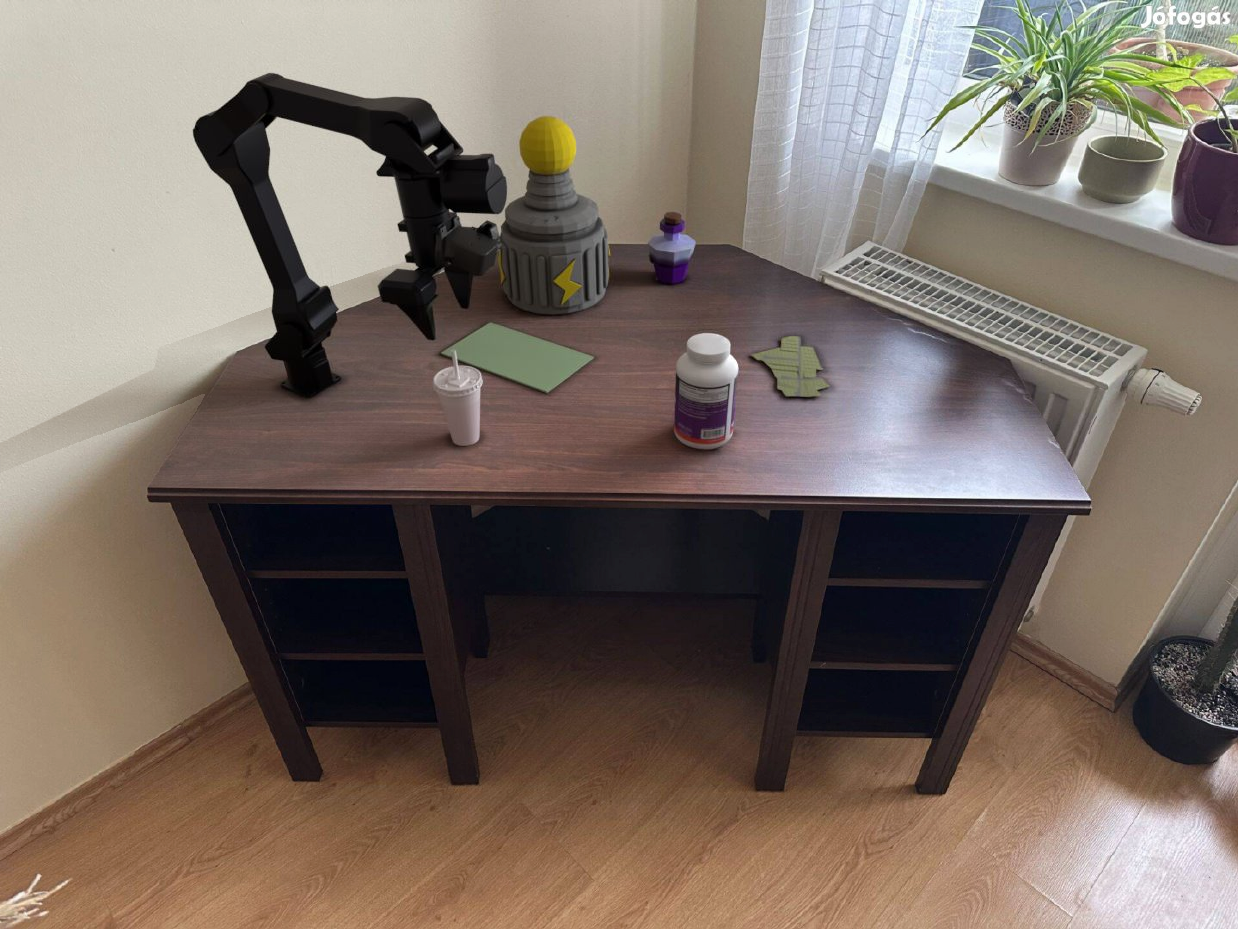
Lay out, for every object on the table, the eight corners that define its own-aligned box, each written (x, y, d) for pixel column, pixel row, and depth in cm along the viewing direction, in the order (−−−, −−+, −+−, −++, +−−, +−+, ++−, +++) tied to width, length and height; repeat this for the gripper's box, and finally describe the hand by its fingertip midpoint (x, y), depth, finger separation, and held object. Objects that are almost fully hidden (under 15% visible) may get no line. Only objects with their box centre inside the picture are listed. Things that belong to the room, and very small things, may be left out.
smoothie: (445, 455, 116) (430, 364, 107) (439, 428, 121) (425, 340, 112) (492, 447, 117) (481, 357, 109) (485, 421, 122) (474, 333, 114)
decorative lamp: (493, 278, 159) (475, 106, 141) (592, 264, 163) (587, 96, 145) (515, 325, 144) (498, 140, 126) (623, 308, 149) (621, 128, 131)
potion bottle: (645, 268, 161) (645, 205, 154) (691, 267, 162) (694, 204, 154) (649, 289, 155) (650, 224, 147) (697, 287, 155) (700, 222, 148)
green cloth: (441, 354, 137) (440, 352, 137) (490, 323, 145) (490, 322, 145) (547, 393, 128) (546, 391, 128) (593, 358, 136) (593, 356, 136)
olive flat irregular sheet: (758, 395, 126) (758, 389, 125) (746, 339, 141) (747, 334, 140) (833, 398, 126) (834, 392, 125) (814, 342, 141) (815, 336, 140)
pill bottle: (696, 412, 123) (700, 321, 115) (743, 432, 119) (752, 340, 111) (661, 438, 118) (663, 345, 110) (710, 460, 114) (716, 366, 106)
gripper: (445, 244, 98) (468, 364, 107) (516, 187, 112) (532, 298, 121) (361, 237, 102) (392, 354, 111) (441, 183, 116) (462, 291, 125)
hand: (449, 323), depth 117 cm, fingers open, 9 cm apart
